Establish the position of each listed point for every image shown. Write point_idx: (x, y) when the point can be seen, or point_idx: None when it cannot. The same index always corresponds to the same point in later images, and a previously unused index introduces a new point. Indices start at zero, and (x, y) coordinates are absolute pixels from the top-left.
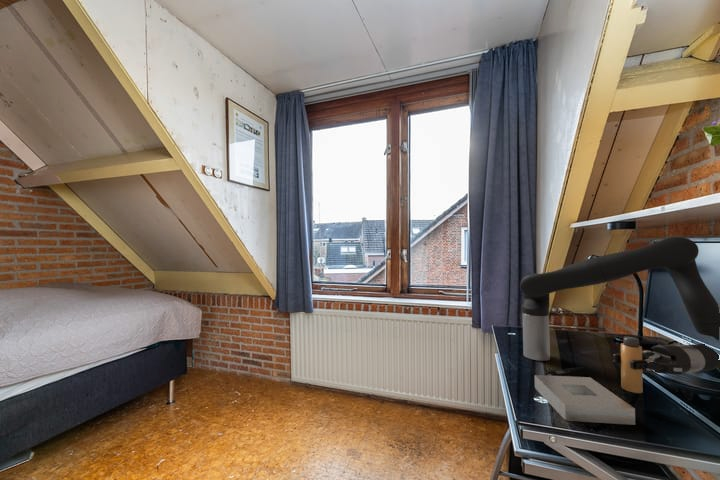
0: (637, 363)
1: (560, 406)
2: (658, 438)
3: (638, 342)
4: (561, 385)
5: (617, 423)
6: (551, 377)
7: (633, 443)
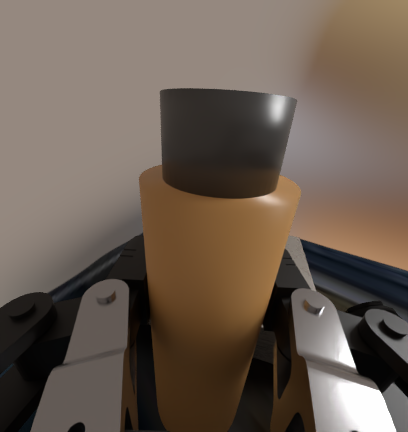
0: (136, 239)
1: None
2: None
3: (161, 123)
4: None
5: None
6: (293, 252)
7: (96, 263)
